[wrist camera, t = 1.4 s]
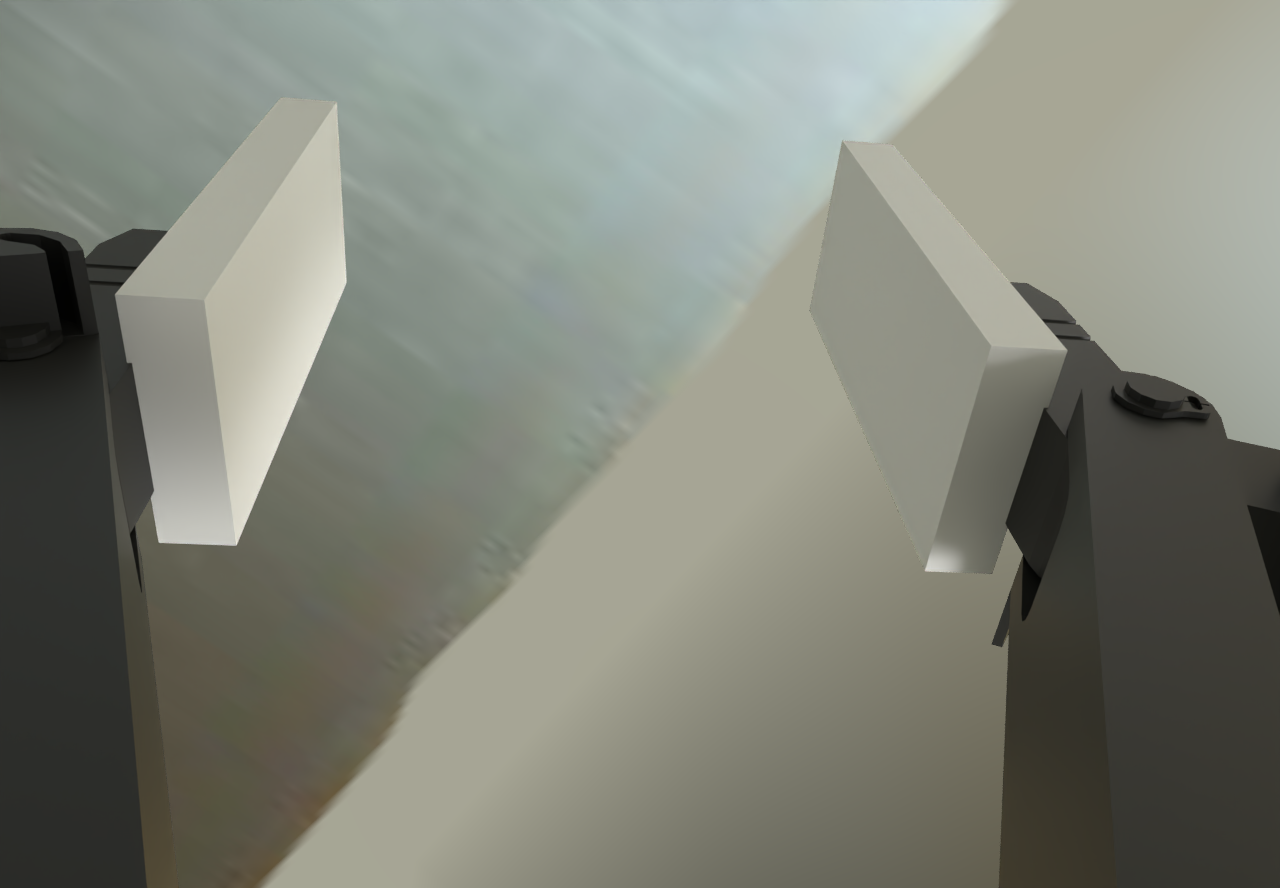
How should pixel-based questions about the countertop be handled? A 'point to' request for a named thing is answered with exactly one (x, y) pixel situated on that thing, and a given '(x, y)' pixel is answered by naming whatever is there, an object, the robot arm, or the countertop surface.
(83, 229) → the countertop surface
